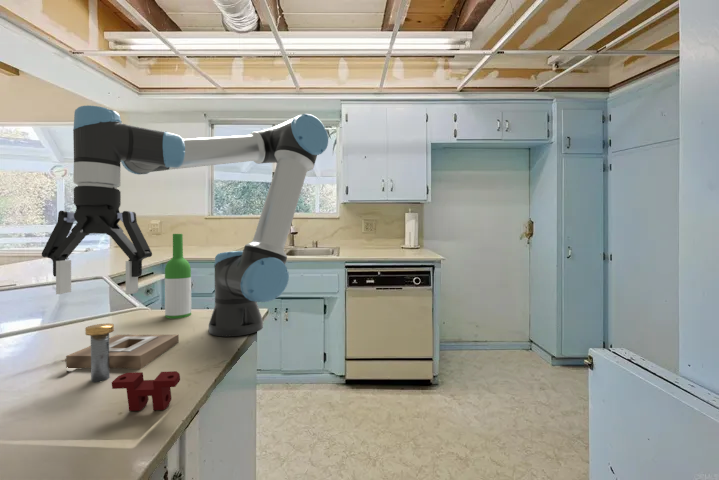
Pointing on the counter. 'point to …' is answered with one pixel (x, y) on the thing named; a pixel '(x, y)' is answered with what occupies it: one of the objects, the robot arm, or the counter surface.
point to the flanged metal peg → (100, 351)
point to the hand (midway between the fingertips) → (97, 293)
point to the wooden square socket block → (127, 351)
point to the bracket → (147, 389)
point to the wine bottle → (177, 282)
